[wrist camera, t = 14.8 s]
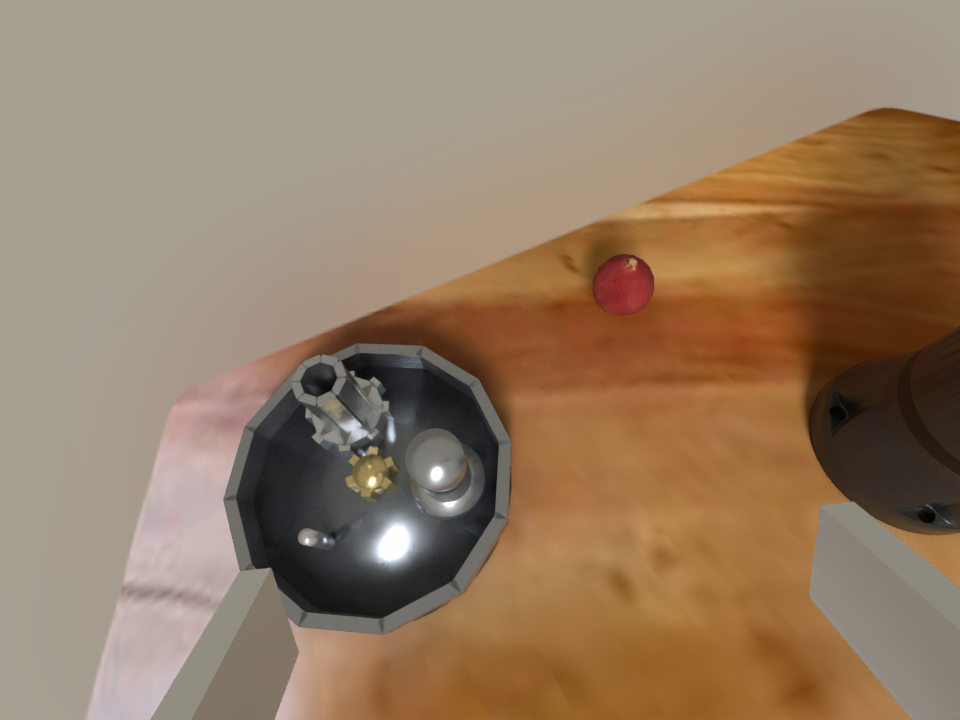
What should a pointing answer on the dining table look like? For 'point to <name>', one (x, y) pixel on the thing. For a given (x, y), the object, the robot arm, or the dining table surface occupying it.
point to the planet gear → (341, 404)
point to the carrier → (374, 497)
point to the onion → (623, 285)
